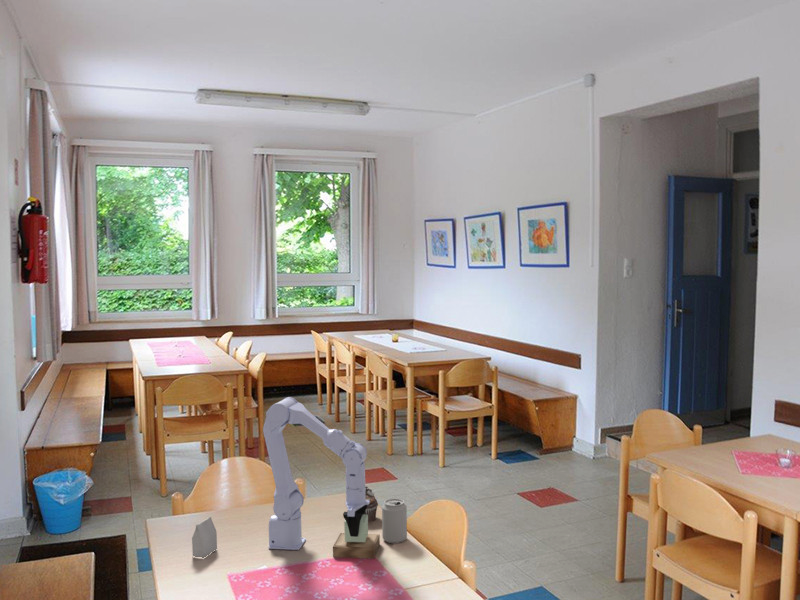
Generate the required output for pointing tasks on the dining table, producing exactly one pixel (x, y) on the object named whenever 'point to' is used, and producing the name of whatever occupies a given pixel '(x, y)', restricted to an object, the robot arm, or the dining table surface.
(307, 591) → the dining table surface
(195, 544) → the grey angular block
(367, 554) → the brown shallow tray
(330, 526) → the dining table surface
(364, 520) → the green cube
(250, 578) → the dining table surface
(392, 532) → the can
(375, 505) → the cupcake
